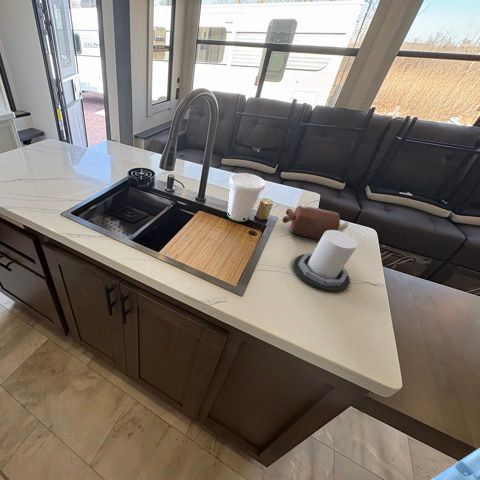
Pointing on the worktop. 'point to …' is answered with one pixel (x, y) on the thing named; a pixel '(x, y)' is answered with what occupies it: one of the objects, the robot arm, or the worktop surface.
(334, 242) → the white cylinder
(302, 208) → the meat
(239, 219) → the cup
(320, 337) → the worktop surface
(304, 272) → the coaster
